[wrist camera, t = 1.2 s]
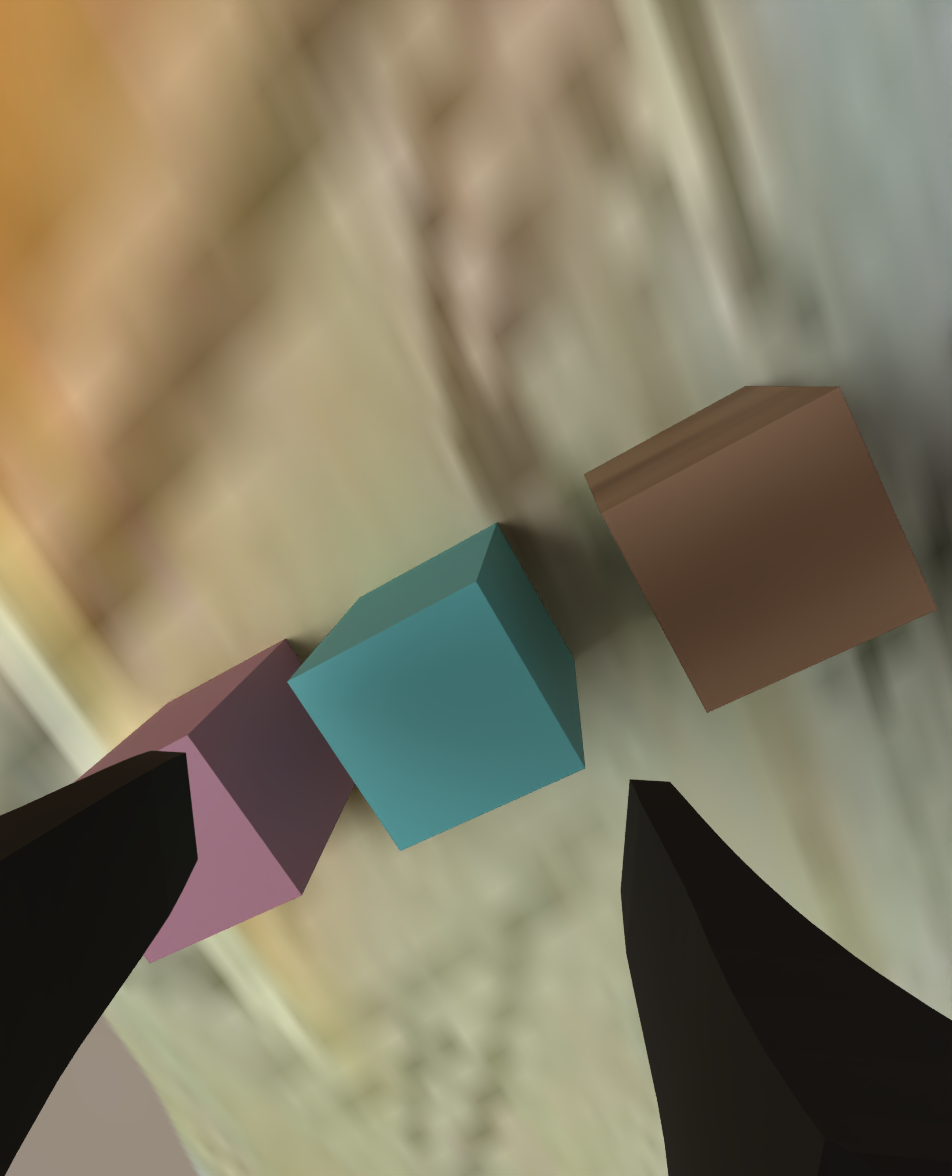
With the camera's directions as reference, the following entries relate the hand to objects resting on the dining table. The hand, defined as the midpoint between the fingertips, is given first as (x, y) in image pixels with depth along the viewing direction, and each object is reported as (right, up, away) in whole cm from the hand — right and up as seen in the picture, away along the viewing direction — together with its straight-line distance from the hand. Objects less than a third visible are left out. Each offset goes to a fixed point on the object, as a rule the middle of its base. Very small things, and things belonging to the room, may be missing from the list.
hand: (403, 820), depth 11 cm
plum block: (-5, -1, +10) cm, 12 cm away
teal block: (+1, +3, +9) cm, 9 cm away
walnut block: (+7, +6, +7) cm, 12 cm away
